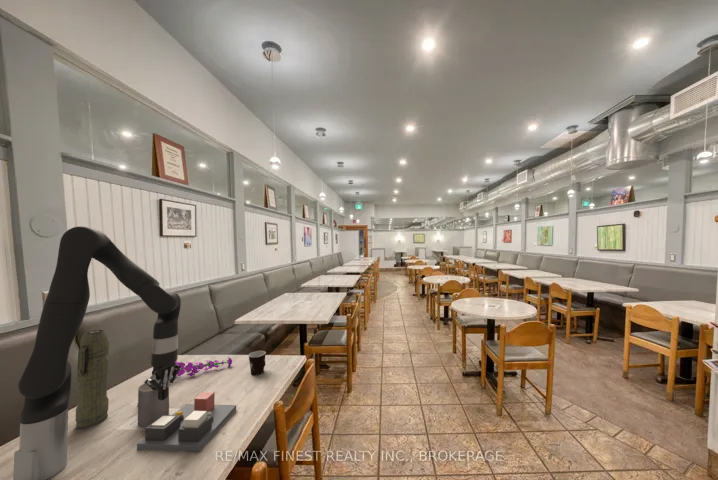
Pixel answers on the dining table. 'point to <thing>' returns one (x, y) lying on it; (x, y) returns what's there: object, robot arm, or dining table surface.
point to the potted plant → (199, 366)
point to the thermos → (92, 379)
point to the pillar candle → (150, 405)
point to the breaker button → (195, 419)
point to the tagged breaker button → (163, 421)
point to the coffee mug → (257, 362)
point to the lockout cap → (204, 401)
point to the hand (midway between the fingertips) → (163, 398)
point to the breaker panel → (185, 430)
